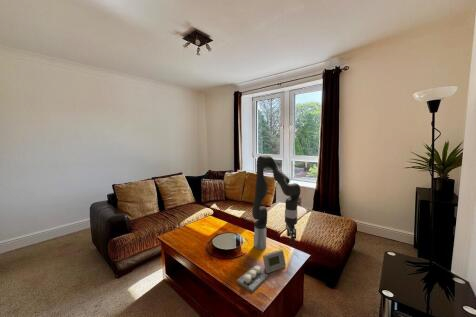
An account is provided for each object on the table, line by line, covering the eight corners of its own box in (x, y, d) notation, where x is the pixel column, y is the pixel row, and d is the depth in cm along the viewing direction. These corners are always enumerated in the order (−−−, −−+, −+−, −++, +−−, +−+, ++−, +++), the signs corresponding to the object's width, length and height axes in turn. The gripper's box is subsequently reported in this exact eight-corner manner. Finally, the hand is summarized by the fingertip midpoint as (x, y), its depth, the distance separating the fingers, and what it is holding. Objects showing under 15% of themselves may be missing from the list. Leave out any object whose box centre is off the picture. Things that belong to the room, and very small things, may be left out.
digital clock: (265, 274, 128) (265, 259, 127) (260, 265, 137) (260, 251, 135) (288, 270, 131) (288, 255, 130) (282, 261, 140) (282, 247, 139)
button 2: (247, 277, 123) (247, 272, 123) (251, 273, 127) (251, 268, 126) (253, 281, 120) (253, 276, 120) (257, 276, 124) (257, 271, 123)
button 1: (242, 282, 119) (242, 277, 119) (247, 277, 123) (246, 272, 122) (248, 285, 116) (248, 280, 116) (252, 281, 120) (252, 276, 119)
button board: (237, 282, 122) (236, 279, 121) (252, 268, 133) (252, 266, 133) (252, 292, 114) (252, 289, 113) (267, 276, 126) (267, 274, 125)
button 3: (252, 273, 127) (252, 268, 126) (256, 269, 130) (256, 264, 130) (258, 276, 124) (258, 271, 123) (262, 272, 127) (262, 267, 127)
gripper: (282, 210, 129) (281, 233, 132) (288, 220, 115) (287, 246, 117) (293, 210, 129) (293, 233, 132) (300, 220, 115) (300, 245, 118)
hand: (290, 239), depth 125 cm, fingers open, 8 cm apart
